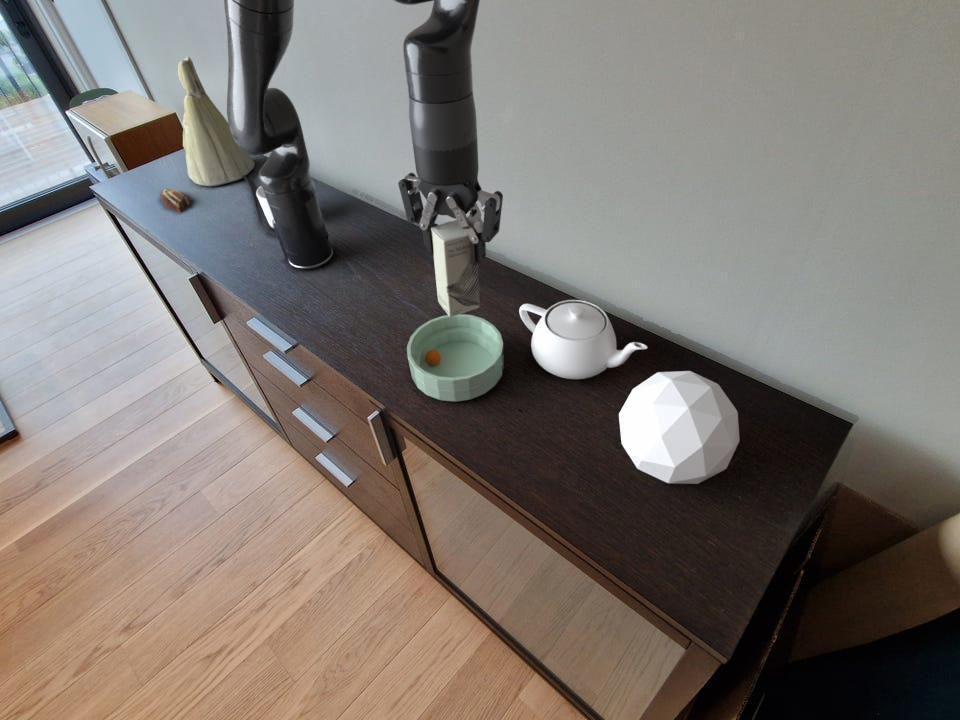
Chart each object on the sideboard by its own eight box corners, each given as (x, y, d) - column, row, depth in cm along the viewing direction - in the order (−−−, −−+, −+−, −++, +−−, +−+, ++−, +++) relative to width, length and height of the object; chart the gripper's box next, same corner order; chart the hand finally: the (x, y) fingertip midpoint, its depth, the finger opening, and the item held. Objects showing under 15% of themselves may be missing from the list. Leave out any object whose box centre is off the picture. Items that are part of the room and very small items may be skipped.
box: (449, 319, 76) (441, 242, 67) (437, 302, 79) (428, 226, 70) (482, 307, 78) (478, 231, 69) (469, 291, 81) (463, 216, 71)
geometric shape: (641, 494, 75) (588, 458, 66) (658, 398, 81) (611, 352, 71) (748, 508, 65) (704, 468, 56) (760, 398, 71) (721, 344, 61)
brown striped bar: (151, 197, 137) (147, 191, 136) (171, 189, 140) (168, 183, 139) (177, 214, 130) (173, 207, 129) (197, 205, 133) (194, 198, 132)
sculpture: (212, 150, 153) (205, 45, 131) (266, 182, 153) (269, 82, 131) (167, 174, 142) (151, 64, 120) (225, 208, 142) (220, 105, 120)
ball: (425, 346, 87) (419, 361, 87) (433, 348, 85) (427, 362, 85) (438, 353, 89) (432, 367, 89) (446, 354, 87) (440, 368, 86)
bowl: (394, 385, 86) (388, 361, 82) (441, 328, 95) (438, 304, 91) (476, 416, 80) (474, 392, 76) (518, 353, 89) (518, 328, 86)
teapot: (498, 358, 89) (496, 309, 81) (540, 314, 96) (542, 265, 89) (618, 415, 79) (629, 365, 71) (655, 361, 86) (668, 310, 79)
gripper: (515, 130, 60) (514, 254, 72) (409, 113, 65) (425, 231, 77) (485, 157, 56) (489, 285, 68) (374, 136, 61) (396, 258, 73)
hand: (455, 256), depth 72 cm, fingers closed on box, 6 cm apart
